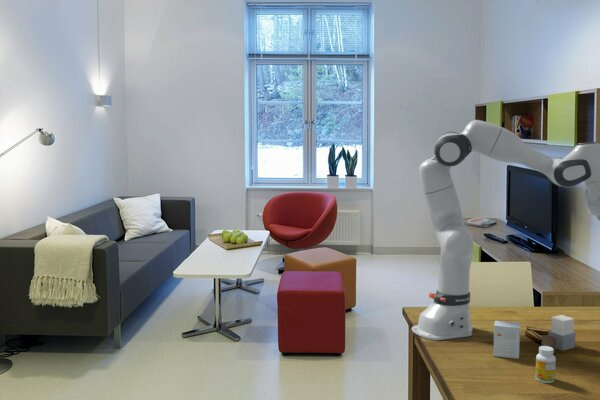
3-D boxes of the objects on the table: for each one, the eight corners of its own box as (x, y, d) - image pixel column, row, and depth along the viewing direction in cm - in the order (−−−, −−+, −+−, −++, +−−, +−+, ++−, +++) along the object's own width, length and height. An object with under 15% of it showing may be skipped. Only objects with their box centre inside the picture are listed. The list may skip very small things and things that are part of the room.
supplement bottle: (532, 376, 190) (533, 345, 189) (549, 375, 191) (550, 344, 189) (540, 383, 185) (541, 351, 184) (558, 383, 185) (559, 351, 184)
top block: (563, 335, 211) (563, 321, 210) (550, 331, 215) (551, 317, 214) (573, 333, 213) (574, 318, 212) (561, 328, 217) (561, 314, 217)
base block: (562, 350, 211) (563, 336, 210) (547, 345, 216) (548, 331, 215) (574, 347, 214) (575, 333, 213) (560, 342, 219) (560, 328, 218)
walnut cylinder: (549, 355, 207) (549, 340, 206) (538, 351, 211) (538, 336, 210) (558, 352, 209) (559, 338, 208) (547, 348, 213) (548, 334, 212)
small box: (519, 353, 209) (520, 322, 208) (519, 359, 204) (520, 327, 202) (493, 350, 211) (494, 319, 210) (492, 356, 206) (494, 325, 205)
